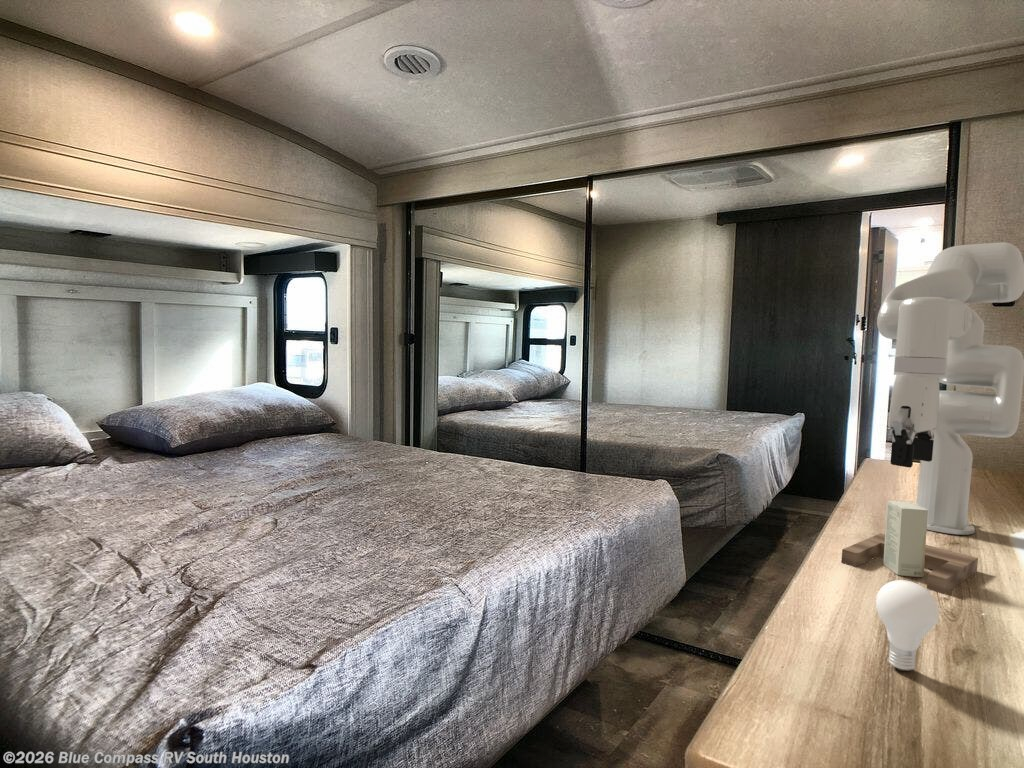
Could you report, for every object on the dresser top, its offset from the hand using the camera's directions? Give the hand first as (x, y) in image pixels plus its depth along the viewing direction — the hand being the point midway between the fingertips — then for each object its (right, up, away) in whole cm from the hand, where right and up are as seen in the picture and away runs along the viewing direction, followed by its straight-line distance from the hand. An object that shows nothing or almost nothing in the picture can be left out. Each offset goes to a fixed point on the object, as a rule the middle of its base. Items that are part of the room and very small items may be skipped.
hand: (911, 462), depth 103 cm
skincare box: (-1, -20, +1) cm, 20 cm away
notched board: (+2, -20, +3) cm, 20 cm away
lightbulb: (-24, -21, -32) cm, 45 cm away
